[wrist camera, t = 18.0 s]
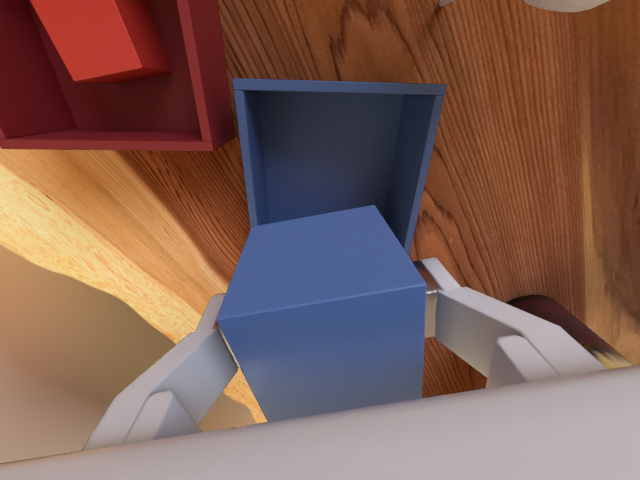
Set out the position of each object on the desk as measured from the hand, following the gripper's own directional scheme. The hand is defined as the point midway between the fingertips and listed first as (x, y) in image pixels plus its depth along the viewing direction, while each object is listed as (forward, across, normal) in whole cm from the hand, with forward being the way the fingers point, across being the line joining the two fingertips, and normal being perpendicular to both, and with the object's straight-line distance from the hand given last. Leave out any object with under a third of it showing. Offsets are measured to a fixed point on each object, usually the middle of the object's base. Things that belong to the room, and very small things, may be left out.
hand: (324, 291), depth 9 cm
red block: (+18, +11, -11) cm, 24 cm away
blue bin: (+18, -2, 0) cm, 18 cm away
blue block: (+2, 0, 0) cm, 2 cm away
